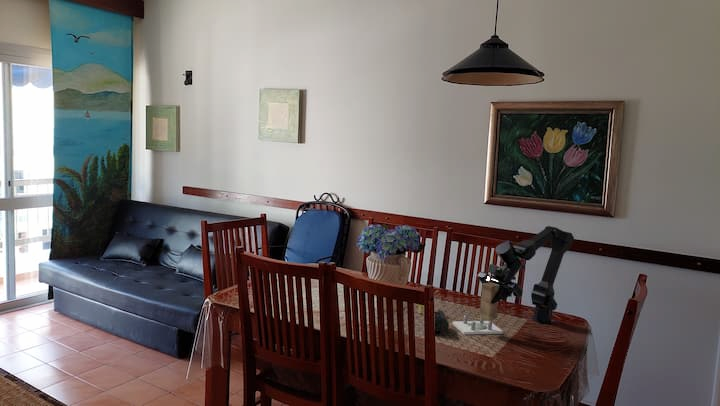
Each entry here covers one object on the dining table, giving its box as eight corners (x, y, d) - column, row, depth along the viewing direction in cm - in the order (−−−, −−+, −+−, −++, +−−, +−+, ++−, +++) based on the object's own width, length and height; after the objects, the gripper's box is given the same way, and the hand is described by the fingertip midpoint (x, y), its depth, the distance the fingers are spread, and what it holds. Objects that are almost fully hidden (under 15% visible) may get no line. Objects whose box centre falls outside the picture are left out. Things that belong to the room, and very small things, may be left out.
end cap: (448, 336, 187) (449, 318, 186) (429, 335, 187) (430, 317, 187) (444, 326, 197) (446, 310, 196) (426, 325, 197) (427, 308, 197)
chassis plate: (489, 323, 204) (490, 313, 204) (502, 333, 193) (503, 323, 193) (452, 323, 201) (453, 314, 200) (463, 334, 190) (464, 324, 189)
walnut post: (487, 314, 195) (490, 282, 193) (496, 318, 191) (499, 285, 189) (479, 316, 192) (482, 283, 191) (488, 320, 188) (491, 286, 187)
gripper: (482, 251, 199) (459, 281, 194) (520, 262, 183) (497, 295, 178) (494, 269, 204) (472, 298, 199) (532, 281, 188) (509, 313, 184)
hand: (487, 301), depth 190 cm, fingers closed on walnut post, 4 cm apart
